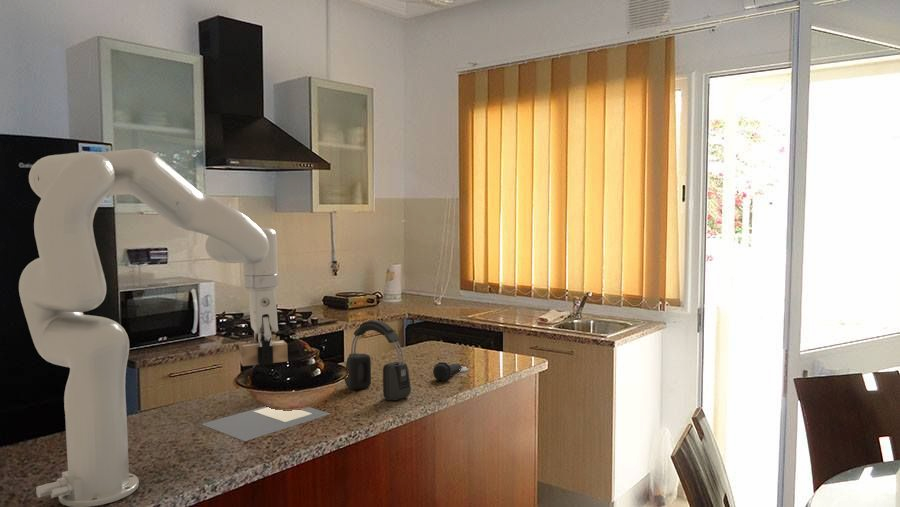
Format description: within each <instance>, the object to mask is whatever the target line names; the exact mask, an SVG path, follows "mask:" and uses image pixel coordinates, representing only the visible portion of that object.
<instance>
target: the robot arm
mask: <svg viewBox="0 0 900 507" xmlns="http://www.w3.org/2000/svg"><path fill="white" fill-rule="evenodd" d="M28 183H29V185H30V188H31V190H32V191H33V192H34V193H35V195H37V196H38V197H39V198H40V201H39V203H38V204H37V207H36V211H35V214H34V222H33V230H34V238H35V243H36V247H37V251H38V256H39V257H37V258H35V259H34V260H32V261H31V262H29V263H28V264H27V265H26V266H25V268H24V269H23V270H22V272H21V275H20V277H19V281H18V292H19V297H20V303H21V306H22V309H23V313H24V317H25V319H26V322H27V326H28V330H29V333H30V336H31V339H32V342H33V344H34V347H35V349H36V351H37V353H38V355H39V356H41V358H42V359H44V360H45V361H46V362H47V363H51V364H52V365H56V366H61V367H65V368H69V374H68V378H67V381H66V384H65V388H64V389H65V390H64V394H63V395H64V396H63V403H64V404H63V405H64V406H63V407H64V415H65V416H64V419H65V438H66V439H65V440H66V456H67V457H66V458H67V460H66V461H67V470H66V471H62V472H61V477H60V478H57V479H56V481H54V482H50V483H49V482H48V483H44V484H42V485H39V486H36V489H35V490H36V496H37V498H39V499H41V498H43V497H47V496H50V497H51V499H55V498H57V497H58V501H59V503H60V504H62V505H63V506H66V507H98V506H103V505H106V504H110V503H113V502H117V501H119V500H122V499H125V498H126V497H128V496H130V495H131V494H133V493H134V492H135V491H136V490H137V489H138V487H139V485H140V482H139V480H140V479H139V477H138V476H137V475H135V474H133V473H130V470H129V469H130V468H129V467H130V466H129V465H130V464H129V446H128V445H129V444H128V442H129V441H128V440H129V439H128V419H127V418H128V417H127V415H128V414H127V402H126V401H127V400H126V399H127V398H126V394H127V393H126V375H127V374H126V373H127V366H128V360H129V352H130V339H129V336H128V333H127V332H126V329H125V328H124V327H123V326H122V325H121V324H120V323H118V322H117V321H116V320H113V319H110V318H108V317H104V316H98V315H90V314H84V313H85V312H89V311H92V310H94V309H96V308H98V307H99V306H100V305H101V304H102V303H103V302H104V300H105V298H106V295H107V282H106V278H105V273H104V270H103V266H102V263H101V259H100V258H101V257H100V255H99V251H98V248H97V245H96V238H95V233H94V226H93V225H94V218H95V214H96V212H97V210H98V208H99V206H100V205H101V203H102V202H103V200H104V199H105V198H106V197H111V196H121V195H122V196H123V195H131V196H132V197H135V198H136V199H138V200H139V201H140V202H141V203H143V204H145V205H146V206H147V207H149V208H150V209H151V210H152V211H154V212H155V213H156V214H158V215H159V216H160V217H162V218H163V219H164V220H166V221H167V222H168V223H169V224H171V225H173V226H175V227H177V228H181V229H184V230H185V231H190V232H193V233H199V234H202V235H206V236H208V237H207V238H206V240H205V245H204V246H205V247H204V248H205V251H206V254H207V256H209V257H210V258H211V259H212V260H214V261H217V262H218V263H219V262H220V263H224V264H225V263H227V264H242V271H243V290H244V291H249V292H248V293H249V295H248V296H249V318H250V327H251V329H252V330H253V331H254V333H253V334H254V337H253V338H254V341H253V343H258V342H259V347H258V366H259V365H260V366H261V365H270V364H274V363H273V346H272V341H273V340H272V337H273V336H272V332H274V333H277V332H278V331H279V326H278V325H279V323H278V311H277V299H276V298H277V297H276V291H275V290H277V289H279V274H278V273H279V270H278V269H279V266H278V238H277V232H276V230H275V229H274V228H271V227H260V226H258V224H257V223H255V222H254V221H253V220H251V219H250V217H248V216H247V215H245V214H244V213H242V212H241V211H239V210H237V209H236V208H234V207H232V206H230V205H228V204H225V203H224V202H222V201H220V200H218V199H216V198H214V197H212V196H211V195H208V194H205V193H203V192H202V191H200V190H199V189H197V188H196V187H195V186H194V185H193V184H191V183H190V182H189V181H188V180H187V179H185V178H184V177H183V176H182V175H181V174H180V173H178V171H177V170H175V169H174V168H173V167H171V166H170V165H169V164H168V163H167V162H166V161H165V160H164V159H162V158H161V157H160V156H159V155H157V154H156V153H154V152H153V151H150V150H147V149H143V148H130V149H120V150H119V149H118V150H109V151H102V152H85V151H83V152H70V153H62V154H53V155H47V156H44V157H41V158H40V159H37V161H35V163H33V165H32V167H31V168H30V171H29V174H28Z"/></svg>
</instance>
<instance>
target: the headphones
mask: <svg viewBox="0 0 900 507" xmlns="http://www.w3.org/2000/svg"><path fill="white" fill-rule="evenodd" d="M370 331H374V332H377V333H379V334H380V335H382V336H384V338H385V339H386V340H387V341H388V342H387V343H389V344H392V343H393V345H394V347H395V349H396V352H397V355H398V356H397V357H398V361H394V362H393V361H392V362H389V363H385V364H384V365H383V368H382V393H383V398H384V399H386V400H387V401H399V400H401V399H404V398H407V397H409V396H410V394H411V392H412V387H411V378H410V372H409V371H410V370H409V367H408V364H406V363H404V362H405V360H404V353H403V349H402V347H401V345H400V343H399V341H400V337H399V335H398V333H396V331H395V330H394V329H393V327H392V326H390V325H389V324H388V323H386V322H384V321H381V320H377V319H375V320H368V321H364V322H363V323H360V325H359V327H357V329H355V331H354V332H353V335H354V337H353V340H352V341H351V342H352V343H351V348H350V353H349V354H348V357H347V359H346V363H345V370H346V369H347V370H348V371H349V375H348V377H347V378H345V377H344V382H345V385H346V387H347V388H349V390H353V391H359V390H364V389H367V388H369V387H370V386H371V384H372V383H371V382H372V360H371V357H370V355H369V354H366V353H360V352H359V353H357V352H356V348H357V343H358V340H359V338H360V336H363V335H365V334H366V333H367V332H370Z"/></svg>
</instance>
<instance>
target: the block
mask: <svg viewBox="0 0 900 507" xmlns="http://www.w3.org/2000/svg"><path fill="white" fill-rule="evenodd" d="M272 346H273V363H272V364H276V363H284V362H289V356H288V355H289V353H288V352H289V351H288V349H289V348H288V347H289V346H288V343H287V342H286V341H285V340H284V339H281V340H280V339H279V340H272ZM238 347H239V348H238V350H239V353H238V354H239V362H240V364H241V366H242V367H248V366H259V364H258V347H259V342H258V343H254V342H249V343H239V345H238Z"/></svg>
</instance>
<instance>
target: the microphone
mask: <svg viewBox="0 0 900 507" xmlns="http://www.w3.org/2000/svg"><path fill="white" fill-rule="evenodd" d="M461 366H463V364H460V363H452V364H451V363H450V364H448V363H447V362H438V363H437V364H435V365H434V367H433V370H432V373H433V377H434V378H435V379H436V380H437V381H438V382H439V381H440V382H446V381H448V380H449V379H451V376H453V375H454V374H455V372H456V373H457V372H459V371H460V370H461V369H462V368H461ZM460 368H461V369H460ZM459 369H460V370H459ZM458 370H459V371H458Z"/></svg>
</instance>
